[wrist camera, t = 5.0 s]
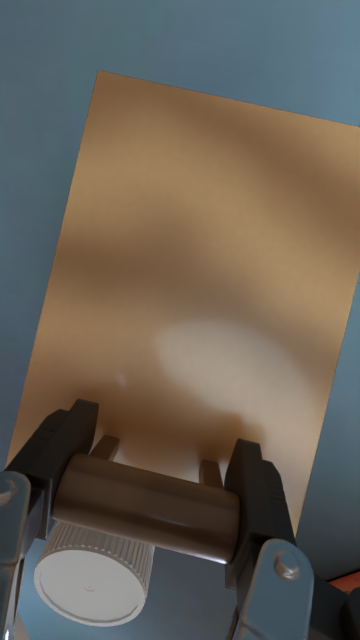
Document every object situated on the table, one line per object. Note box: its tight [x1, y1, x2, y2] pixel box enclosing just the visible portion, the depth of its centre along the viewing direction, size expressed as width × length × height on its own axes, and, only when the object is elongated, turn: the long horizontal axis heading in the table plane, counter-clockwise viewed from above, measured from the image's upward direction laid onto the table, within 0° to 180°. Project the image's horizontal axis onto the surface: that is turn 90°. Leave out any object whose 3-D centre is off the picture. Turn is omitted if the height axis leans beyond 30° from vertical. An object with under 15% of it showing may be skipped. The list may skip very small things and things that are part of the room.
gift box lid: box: [5, 70, 360, 564], centre depth 11 cm, size 17×12×5 cm
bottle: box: [34, 521, 155, 626], centre depth 25 cm, size 7×7×15 cm
